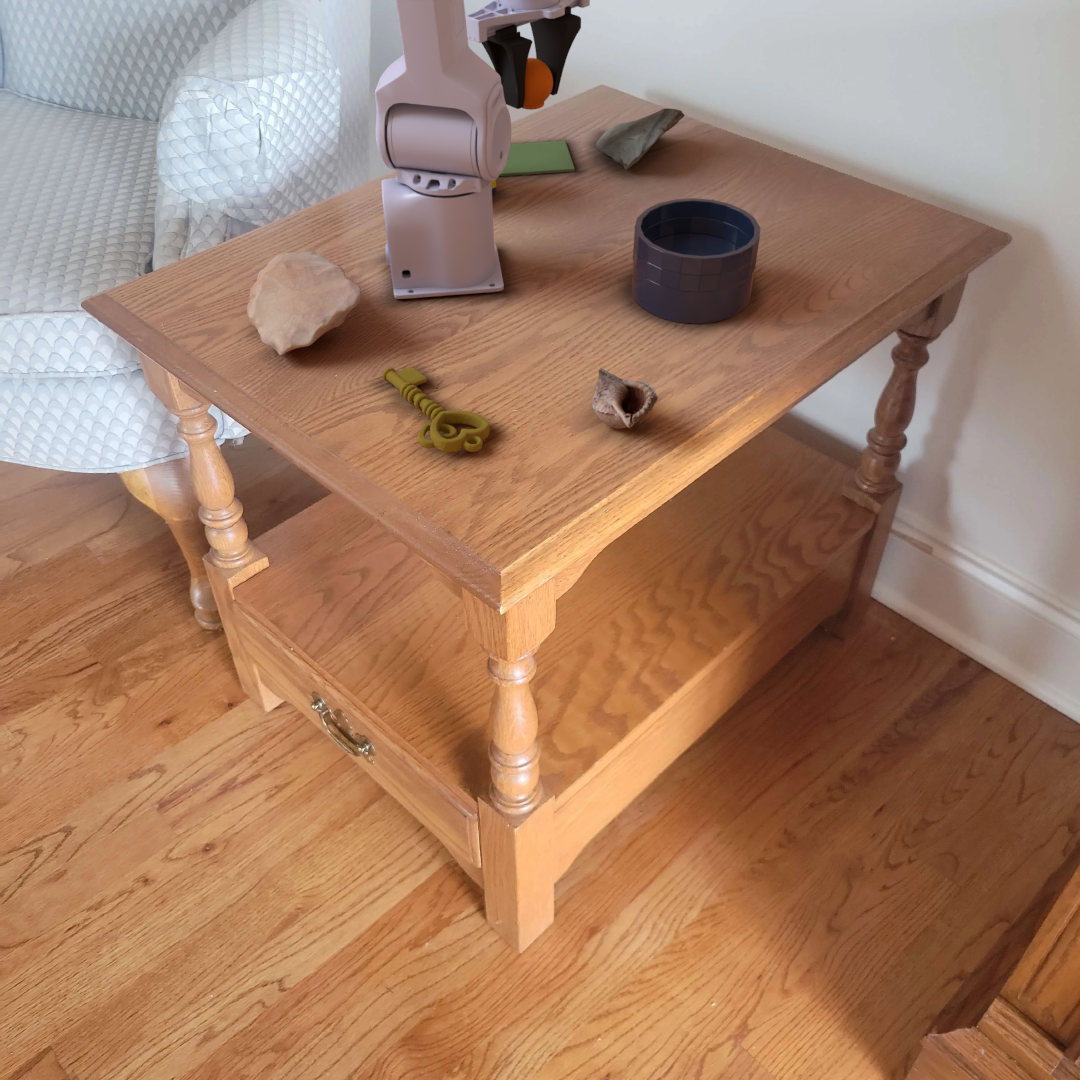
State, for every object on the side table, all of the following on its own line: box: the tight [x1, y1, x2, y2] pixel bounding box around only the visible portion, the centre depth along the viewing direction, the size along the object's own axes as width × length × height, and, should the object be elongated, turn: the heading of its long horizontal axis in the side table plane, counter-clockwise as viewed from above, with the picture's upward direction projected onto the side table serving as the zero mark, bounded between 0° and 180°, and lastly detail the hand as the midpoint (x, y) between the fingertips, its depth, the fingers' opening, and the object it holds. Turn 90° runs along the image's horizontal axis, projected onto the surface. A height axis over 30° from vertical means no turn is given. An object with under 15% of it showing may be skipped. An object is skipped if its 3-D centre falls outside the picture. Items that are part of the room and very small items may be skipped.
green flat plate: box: [498, 139, 576, 178], centre depth 106 cm, size 8×7×1 cm
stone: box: [595, 108, 685, 171], centre depth 105 cm, size 11×4×10 cm
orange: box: [521, 57, 553, 111], centre depth 101 cm, size 4×4×4 cm
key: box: [382, 366, 491, 453], centre depth 75 cm, size 12×1×5 cm
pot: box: [631, 197, 762, 325], centre depth 85 cm, size 10×10×6 cm
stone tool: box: [246, 250, 363, 356], centre depth 84 cm, size 9×5×15 cm
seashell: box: [591, 367, 659, 429], centre depth 73 cm, size 4×8×4 cm
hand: (531, 98), depth 102 cm, fingers closed on orange, 4 cm apart
